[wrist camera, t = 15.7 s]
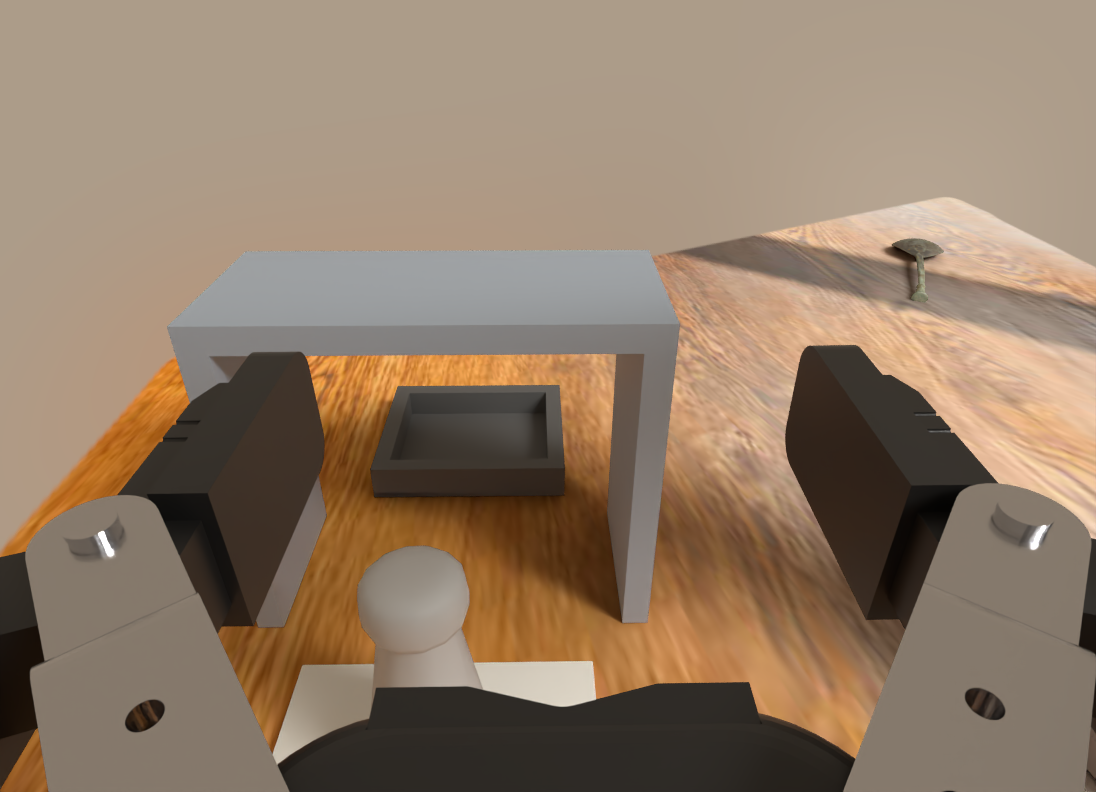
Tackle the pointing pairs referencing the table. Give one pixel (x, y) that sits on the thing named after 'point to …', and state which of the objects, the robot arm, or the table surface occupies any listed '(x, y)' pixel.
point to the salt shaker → (417, 619)
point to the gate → (458, 353)
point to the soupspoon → (919, 261)
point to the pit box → (471, 442)
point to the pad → (347, 688)
